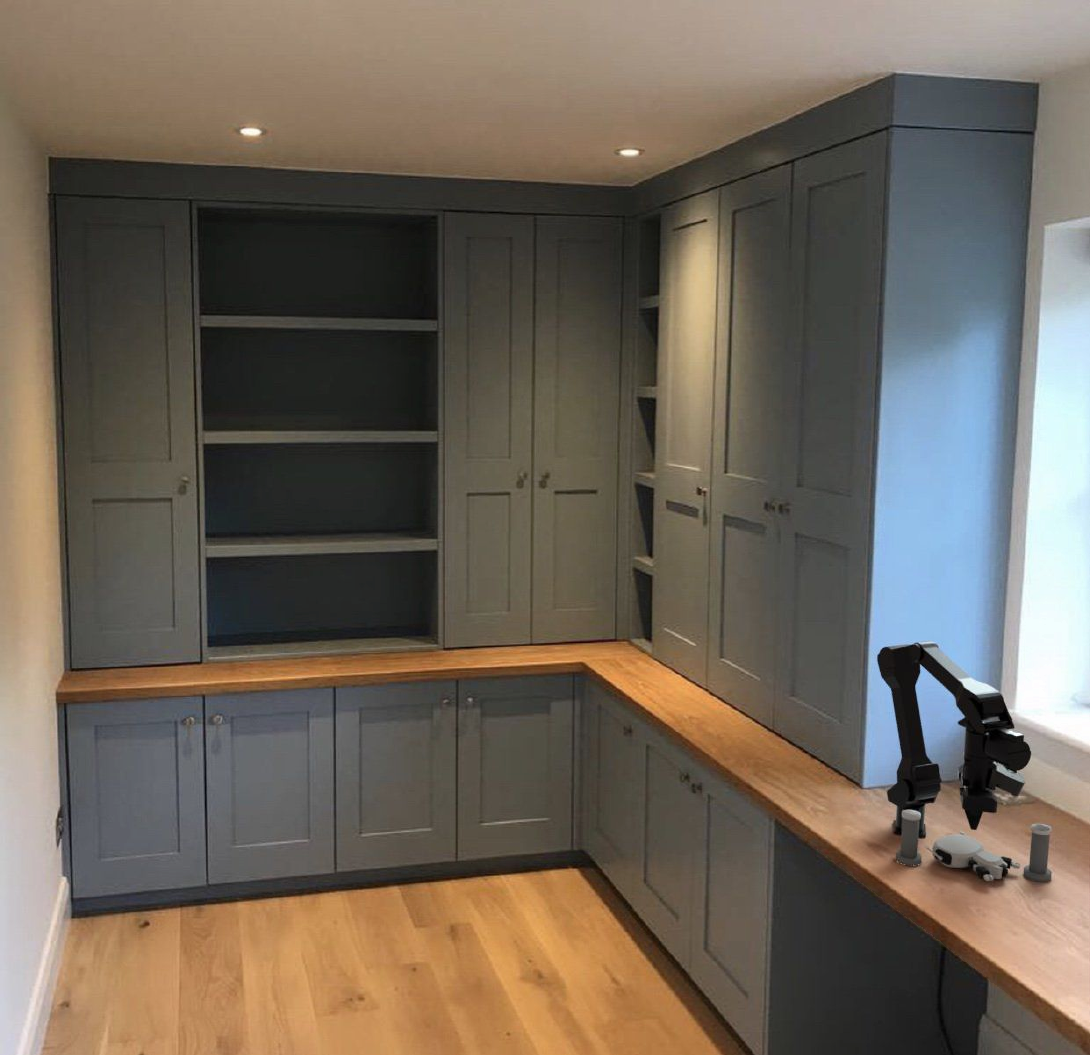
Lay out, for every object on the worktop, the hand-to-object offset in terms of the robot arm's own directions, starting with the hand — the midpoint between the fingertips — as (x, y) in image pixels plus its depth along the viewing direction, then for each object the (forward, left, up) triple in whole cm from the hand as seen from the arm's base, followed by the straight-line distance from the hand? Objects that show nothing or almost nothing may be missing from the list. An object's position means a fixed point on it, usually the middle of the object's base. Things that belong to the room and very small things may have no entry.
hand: (973, 829), depth 243 cm
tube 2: (+2, +12, -7) cm, 14 cm away
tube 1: (+2, -12, -7) cm, 14 cm away
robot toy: (+2, 0, -8) cm, 8 cm away
